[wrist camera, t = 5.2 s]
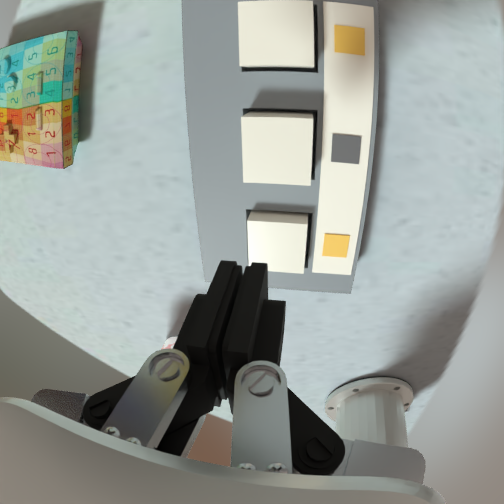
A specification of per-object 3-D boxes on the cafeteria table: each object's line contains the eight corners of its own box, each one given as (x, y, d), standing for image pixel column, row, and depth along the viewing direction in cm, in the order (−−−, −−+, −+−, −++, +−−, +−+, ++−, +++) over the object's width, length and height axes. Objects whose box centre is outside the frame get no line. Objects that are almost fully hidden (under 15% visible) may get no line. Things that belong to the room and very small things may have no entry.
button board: (368, -7, 14) (377, -20, 11) (347, 271, 26) (350, 296, 23) (196, -7, 16) (179, -17, 13) (214, 261, 28) (203, 284, 25)
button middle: (312, 112, 18) (313, 119, 15) (310, 170, 20) (310, 185, 18) (250, 111, 18) (241, 117, 16) (251, 168, 21) (243, 182, 18)
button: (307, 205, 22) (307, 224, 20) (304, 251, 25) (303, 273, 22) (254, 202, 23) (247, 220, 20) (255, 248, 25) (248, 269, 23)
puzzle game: (57, 172, 21) (-43, 159, 21) (89, 155, 24) (-17, 145, 25) (59, 30, 14) (-47, 66, 15) (96, 31, 18) (-19, 59, 19)
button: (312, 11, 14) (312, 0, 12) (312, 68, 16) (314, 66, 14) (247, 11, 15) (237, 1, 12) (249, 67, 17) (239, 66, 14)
